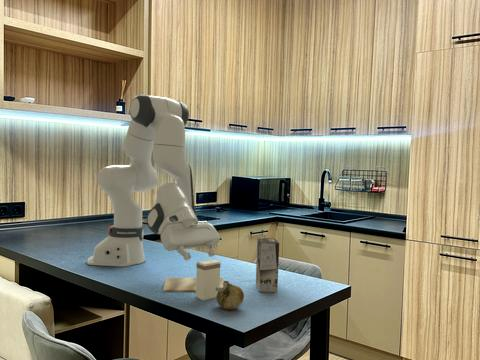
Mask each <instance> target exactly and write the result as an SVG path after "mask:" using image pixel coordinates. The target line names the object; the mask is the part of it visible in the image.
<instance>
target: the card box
mask: <svg viewBox="0 0 480 360" xmlns="http://www.w3.org/2000/svg"><path fill="white" fill-rule="evenodd" d="M195 267H196V276H195V278H196V292H195V298H197V299H200V300H201V301H206V300H212V299H216V296H217V293H218V291H216V287H220V278H221V261H219V260H216V259H213V258H212V259H205V260H199V261H196V266H195Z"/></svg>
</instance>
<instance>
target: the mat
mask: <svg viewBox="0 0 480 360" xmlns="http://www.w3.org/2000/svg"><path fill="white" fill-rule="evenodd" d="M224 281H225V280H224V277H220V288H221V287H223V284H222V283H224ZM162 292H163V293H169V292H170V293H176V292H178V293H181V292H184V293H185V292H186V293H191V292H192V293H194V292H195V293H196V277H165V280H164V284H163V288H162Z"/></svg>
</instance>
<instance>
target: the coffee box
mask: <svg viewBox="0 0 480 360" xmlns="http://www.w3.org/2000/svg"><path fill="white" fill-rule="evenodd" d="M279 257H280V242H279V241H278V240H277V239H276V238H274V237H271V238H270V237H269V238H268V237H267V238H265V237H264V238H256V261H255V262H256V263H255V265H256V267H255V271H256V272H255V285H256V287H257V290H258V292H264V293H265V292H268V293H269V292H270V293H271V292H273V293H276V292H277V293H278V286H279V284H278V283H279V260H280V258H279Z"/></svg>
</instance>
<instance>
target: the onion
mask: <svg viewBox="0 0 480 360" xmlns="http://www.w3.org/2000/svg"><path fill="white" fill-rule="evenodd" d="M222 284H223V287H221V288H220V287H216V291H218V293H217V296H216V298H215V299H216V303H217V304H218V305H219V307H220V308H222V309H224V310H234V309H235V310H236V309H237V308H238V307H240V305H241V304H242V303H243V301H244V298H245V294H244V291H243V289H242V288H241V287H240V286H237V285H235V284H233V283H230V281H228V280H224V283H222Z"/></svg>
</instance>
